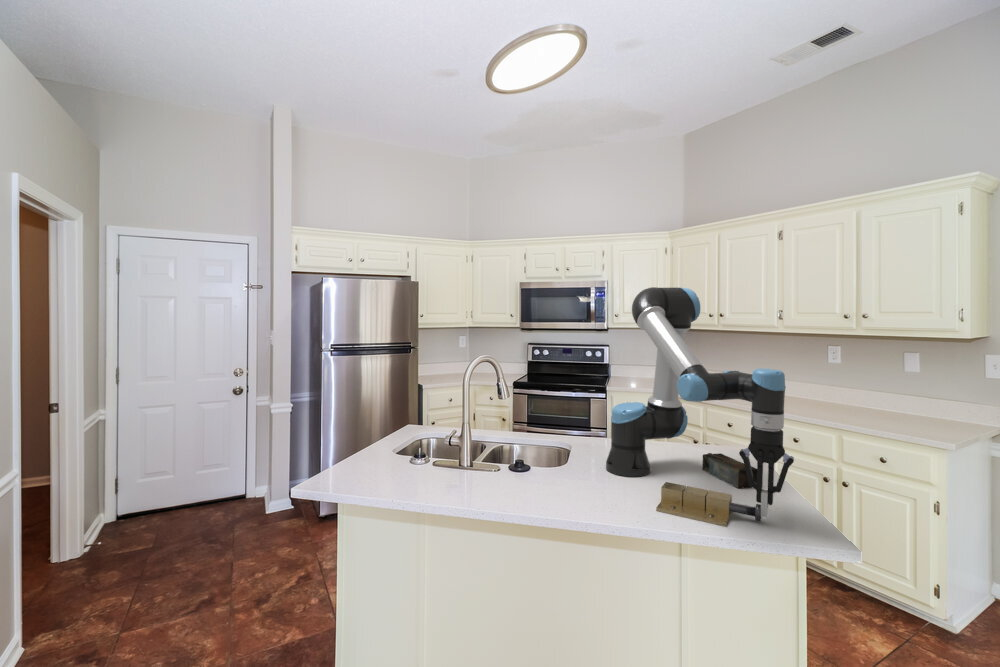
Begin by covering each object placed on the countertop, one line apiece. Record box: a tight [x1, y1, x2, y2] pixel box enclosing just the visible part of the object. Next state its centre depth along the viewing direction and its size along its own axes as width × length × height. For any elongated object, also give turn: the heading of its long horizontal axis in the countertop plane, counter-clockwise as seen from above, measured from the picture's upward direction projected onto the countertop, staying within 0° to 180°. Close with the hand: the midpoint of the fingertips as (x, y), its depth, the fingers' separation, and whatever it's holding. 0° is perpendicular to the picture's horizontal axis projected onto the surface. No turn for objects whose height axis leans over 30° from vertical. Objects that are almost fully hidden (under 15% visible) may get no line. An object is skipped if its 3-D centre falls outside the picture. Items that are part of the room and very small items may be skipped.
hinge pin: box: [729, 502, 762, 523], centre depth 134 cm, size 19×4×4 cm, turn 57°
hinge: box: [655, 481, 733, 527], centre depth 138 cm, size 18×15×5 cm
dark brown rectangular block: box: [702, 452, 757, 489], centre depth 163 cm, size 8×19×7 cm, turn 12°
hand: (764, 515), depth 129 cm, fingers closed
